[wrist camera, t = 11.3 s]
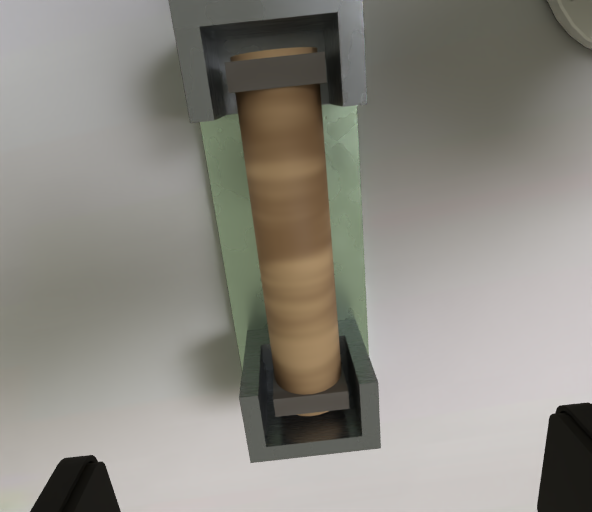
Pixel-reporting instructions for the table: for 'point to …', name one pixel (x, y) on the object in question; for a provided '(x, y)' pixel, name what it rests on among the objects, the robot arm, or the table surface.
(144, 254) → the table surface
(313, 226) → the rail
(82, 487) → the robot arm
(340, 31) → the bracket board
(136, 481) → the table surface
